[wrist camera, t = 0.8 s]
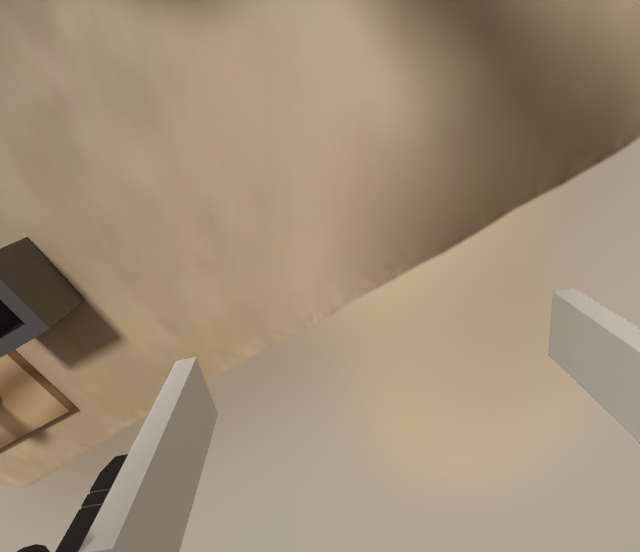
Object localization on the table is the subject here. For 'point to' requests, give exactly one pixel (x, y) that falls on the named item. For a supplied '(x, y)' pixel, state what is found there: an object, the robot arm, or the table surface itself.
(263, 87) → the table surface
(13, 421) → the keeper
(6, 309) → the hollow square block
